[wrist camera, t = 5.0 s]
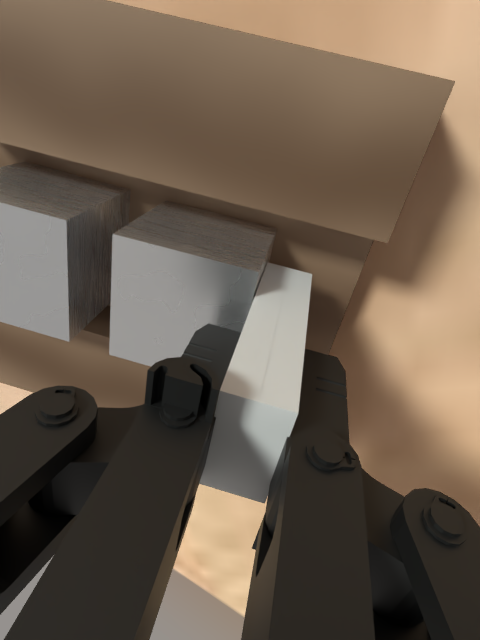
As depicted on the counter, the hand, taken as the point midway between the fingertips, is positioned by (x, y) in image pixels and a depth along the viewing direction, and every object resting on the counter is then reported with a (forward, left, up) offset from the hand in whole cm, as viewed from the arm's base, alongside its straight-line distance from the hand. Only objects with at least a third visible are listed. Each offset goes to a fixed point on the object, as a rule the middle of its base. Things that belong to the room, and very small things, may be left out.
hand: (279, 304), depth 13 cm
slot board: (0, -5, -2) cm, 5 cm away
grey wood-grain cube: (0, -3, -1) cm, 3 cm away
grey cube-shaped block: (0, -8, -1) cm, 8 cm away
